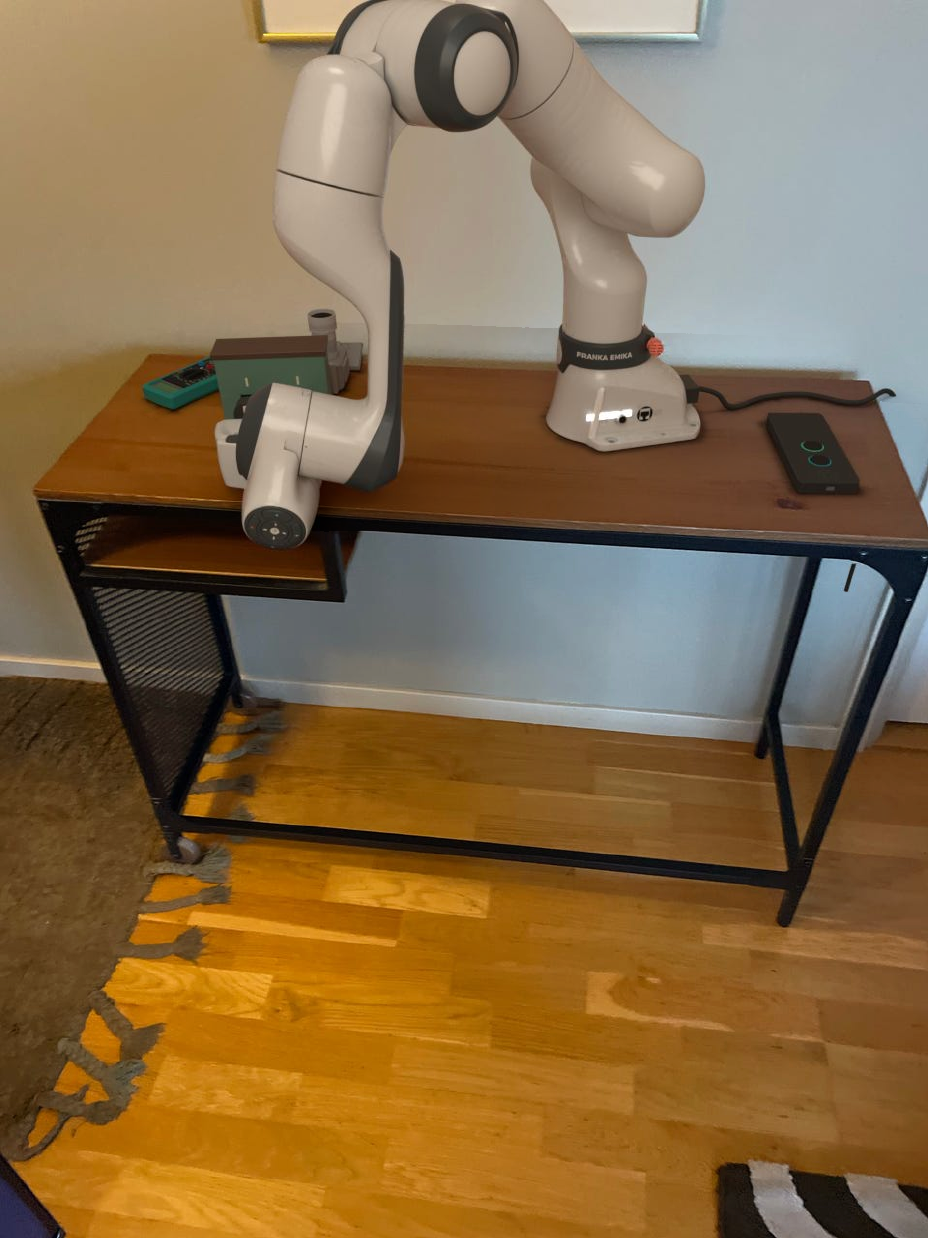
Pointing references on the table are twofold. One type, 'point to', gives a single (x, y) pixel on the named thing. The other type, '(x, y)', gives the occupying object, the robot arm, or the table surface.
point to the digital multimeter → (183, 385)
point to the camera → (335, 347)
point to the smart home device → (811, 454)
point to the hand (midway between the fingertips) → (298, 412)
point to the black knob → (240, 407)
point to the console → (269, 365)
